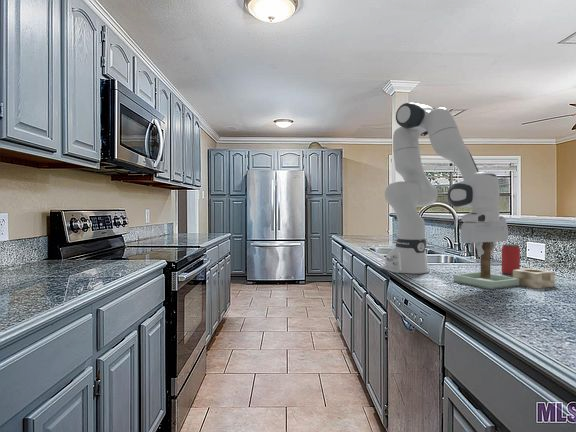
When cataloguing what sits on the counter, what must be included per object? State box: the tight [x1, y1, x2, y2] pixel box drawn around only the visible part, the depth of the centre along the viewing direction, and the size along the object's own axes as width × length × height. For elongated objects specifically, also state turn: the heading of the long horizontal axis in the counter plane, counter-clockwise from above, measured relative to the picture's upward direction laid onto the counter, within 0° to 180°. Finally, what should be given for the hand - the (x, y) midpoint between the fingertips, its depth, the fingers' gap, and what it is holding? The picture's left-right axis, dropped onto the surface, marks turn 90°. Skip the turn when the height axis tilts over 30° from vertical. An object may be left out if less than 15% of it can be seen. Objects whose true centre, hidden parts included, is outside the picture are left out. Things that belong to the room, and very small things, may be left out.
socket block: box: [512, 267, 556, 289], centre depth 135 cm, size 9×9×5 cm
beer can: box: [501, 243, 521, 276], centre depth 158 cm, size 7×7×12 cm
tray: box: [453, 271, 520, 290], centre depth 138 cm, size 16×14×2 cm
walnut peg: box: [480, 242, 492, 279], centre depth 138 cm, size 3×3×13 cm
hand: (485, 254), depth 138 cm, fingers closed on walnut peg, 3 cm apart
